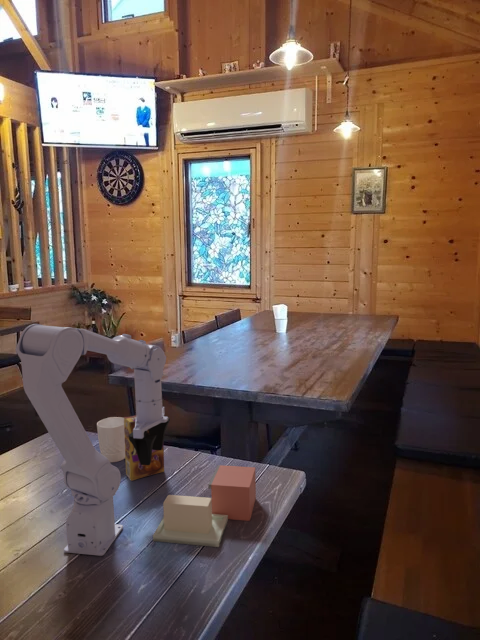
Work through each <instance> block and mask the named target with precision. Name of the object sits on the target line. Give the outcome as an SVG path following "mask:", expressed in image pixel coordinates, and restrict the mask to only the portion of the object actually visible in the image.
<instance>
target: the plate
mask: <svg viewBox="0 0 480 640" xmlns="http://www.w3.org/2000/svg"><path fill="white" fill-rule="evenodd" d="M228 521H229V519H228V515H220V514H212V526H211V529H210V531H209V534H203V533H192V532H180V531H169V530H164V516H163V517H162V518H161V521H160V523H159V525H158V526H157V528H156V529H155V531H154V532H153V535H152V541H153V542H158V543H159V542H160V543H167V544H168V543H169V544H171V543H172V544H181V545H190V546H191V545H193V546H201V547H202V546H203V547H204V546H205V547H214V548H219V547H220V545H221V543H222V539H223V536H224V533H225V530H226V527H227V524H228Z"/></svg>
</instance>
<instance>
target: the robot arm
mask: <svg viewBox="0 0 480 640" xmlns="http://www.w3.org/2000/svg"><path fill="white" fill-rule="evenodd" d="M88 351H89V352H93V353H98V354H103V355H106V356H107V359H108V361H109V362H110V363H112V364H115V365H119V366H123V367H128V368H130V370H133V373H134V374H133V375H134V376H133V377H134V379H133V380H134V393H135V394H134V395H135V398H134V399H135V410H136V411H135V412H136V413H135V415H136V420H135V428H134V429H133V432H132V433H131V434H130V435H129V440H130V442H131V443H132V444H133V446H134V448H135V450H136V452H137V455H138V459H139V462H140V464H141V465H150V463H151V458H152V449H153V450H162V447H163V445H164V442H165V440H164V439H165V435H166V432H167V428H168V425H169V423H170V422H171V421H170V419H171V418H170V417H168V416H165V415H166V414H165V412H166V411H165V410H166V409H165V406H163V394H162V391H163V390H162V378H163V377H164V368H165V365H166V361H167V355H165V351H164V350H163V349H162V347H161V346H159V345H155V344H147V341H146V340H143V339H138V340H136V339H132V335H130V334H126V333H122V335H116V336H114V337H113V338H109V337H108V336H104V335H102V334H99V333H98V332H97V333H96V332H94V331H91V330H88V329H86V328H76V327H71V326H66V327H65V326H56V325H45V324H44V325H43V324H40V323H33V324H30V325H28V326H26V327H25V328H24V329H23V331H22V332H21V334H20V336H19V338H18V342H17V345H16V347H15V352H16V354H17V356H18V358H19V360H20V361H21V362H20V363H21V373H22V375H21V376H22V385H23V387H22V388H23V390H24V393H25V394H26V396H27V398H28V399H29V401H30V403H31V405H32V406H33V408H34V409H35V411H36V413H37V415H38V416H39V418H40V420H41V421H42V423H43V425H44V427H45V428H46V430H47V432H48V433H49V436H50V437H51V439H52V440H53V442H54V444H55V445H56V447H57V449H58V450H59V452H60V454H61V456H62V457H63V461H62V463H61V465H60V469H61V470H62V473H63V482H64V485H65V486H66V487H67V489H69V490H70V491H71V497H73V507H72V509H71V512H70V513H69V515H68V516H67V518H66V523H65V528H66V538H67V545H66V546H65V547H64V548H63V552H64V553H71V554H78V555H79V554H80V555H87V556H89V555H90V556H99V557H102V556H104V555H106V552H107V551H108V549H109V548H110V547H111V545H112V544H113V543H114V541H115V540H116V539H117V537H118V536H119V534H121V533H120V532H122V530H123V528H124V525H123V524H117V523H115V508H114V507H115V506H114V505H115V504H114V496H115V495H116V493H117V492H118V490H119V488H120V485H121V481H122V480H121V479H122V475H121V472H120V469H119V468H118V467H117V466H115V465H113V464H112V462H109V460H108V459H107V458H106V457H105V456H103V455H102V454H101V453H100V452H99V451H98V450H97V449H96V448H95V446H94V445H93V443H92V441H91V439H90V437H89V435H88V433H87V432H86V429H85V428H84V426H83V424H82V422H81V421H80V419H79V416H78V414H77V413H76V411H75V409H74V407H73V405H72V403H71V401H70V400H69V398H68V396H67V393H66V392H65V390H64V388H63V386H62V385H63V383H64V382H66V381H67V380H68V377H69V376H70V374H71V373H72V371H73V370H74V368H75V366H76V365H77V363H78V361H79V360H80V357H81V356H83V355H84V356H85V355H86V354H87V353H88ZM147 430H148V431H149V433H148V432H147Z"/></svg>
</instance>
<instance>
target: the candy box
mask: <svg viewBox="0 0 480 640" xmlns="http://www.w3.org/2000/svg"><path fill="white" fill-rule="evenodd" d="M123 418H124V434H125V475H126V477H128V479H129V480H130V481H131V482H132V481H136V480H138V479H142V478H147V477H149V476H152V475H156V474H159V473H164V472H165V456H164V455H165V452H164V451H165V449H164V448H165V447H164V444H163V447H162V450H153V449H152V458H151V463H150V465H141V464H140V462H139V459H138V455H137V452H136V450H135V448H134V446H133V444H132V443H131V442H130V440H129V435H130V434H131V433H132V432H133V429H134V428H135V420H136V414H135V415H130V416H124V417H123ZM147 432H148V433H149V431H148V430H147Z"/></svg>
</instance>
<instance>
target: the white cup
mask: <svg viewBox="0 0 480 640" xmlns="http://www.w3.org/2000/svg"><path fill="white" fill-rule="evenodd" d="M96 429H97V438H98V446H99V451H100V452H99V453H101V454H102V455H103V456H105V457H106V458H107V459H108V460H109V462H110V463H118V462H120V461H124V459H125V434H124V417H121V416H118V417H117V416H110V417H107V418H103V419H101V420H99V421H97V422H96Z"/></svg>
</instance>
